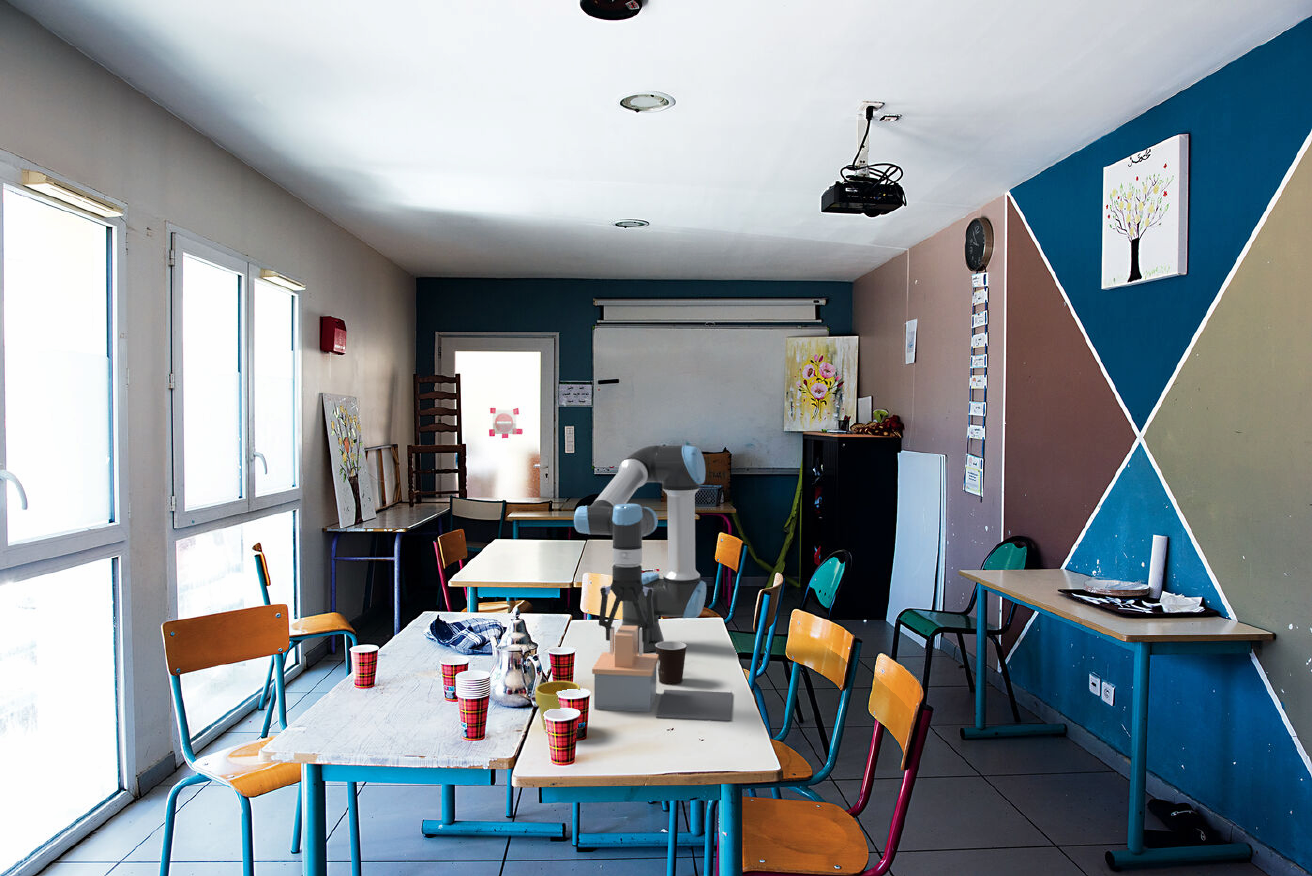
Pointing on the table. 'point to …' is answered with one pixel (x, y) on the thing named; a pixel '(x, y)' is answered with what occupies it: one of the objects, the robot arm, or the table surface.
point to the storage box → (624, 692)
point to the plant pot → (551, 695)
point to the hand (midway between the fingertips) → (626, 653)
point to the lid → (626, 656)
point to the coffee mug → (670, 661)
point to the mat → (695, 705)
